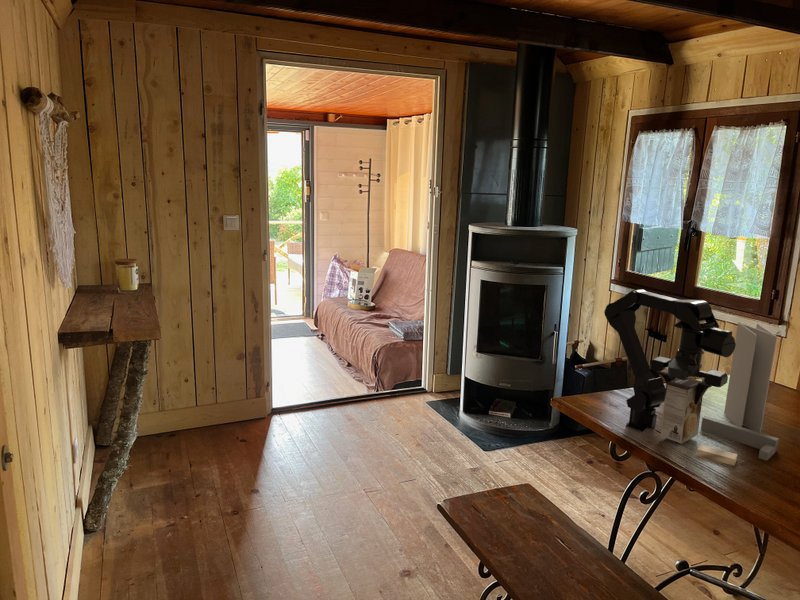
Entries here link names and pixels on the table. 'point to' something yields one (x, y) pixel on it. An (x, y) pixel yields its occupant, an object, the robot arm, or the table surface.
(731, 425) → the bracket
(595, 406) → the table surface
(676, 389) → the coffee box
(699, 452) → the offcut upper
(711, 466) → the table surface
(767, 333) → the brochure
